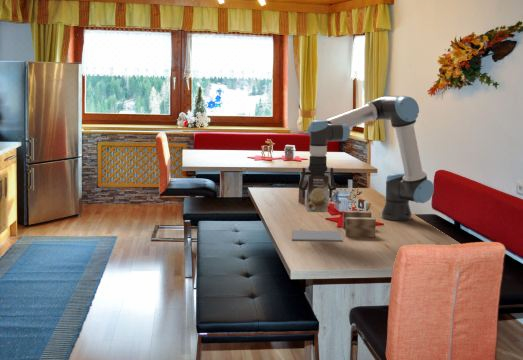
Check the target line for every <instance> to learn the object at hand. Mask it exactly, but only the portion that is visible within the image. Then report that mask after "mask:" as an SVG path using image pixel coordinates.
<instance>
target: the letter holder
mask: <svg viewBox="0 0 523 360" xmlns="http://www.w3.org/2000/svg"><path fill="white" fill-rule="evenodd" d="M306 181H307V179H304V181H303V184H302V187H304V185H305V183H306ZM299 184H300V181H299ZM299 184H298V185H299ZM306 190H307V188H306ZM302 195H303V191H302V190H301V189H299V188H298V198H297V199H298V200H297V201H298V203H300V204H302V205H304V206H306V205H305V198H303V196H302Z"/></svg>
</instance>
